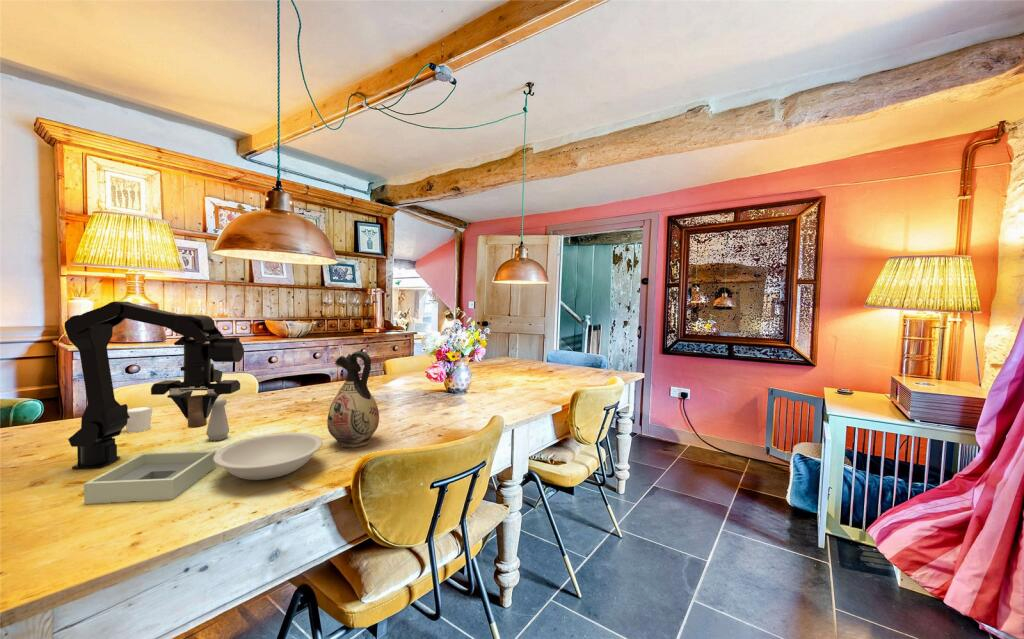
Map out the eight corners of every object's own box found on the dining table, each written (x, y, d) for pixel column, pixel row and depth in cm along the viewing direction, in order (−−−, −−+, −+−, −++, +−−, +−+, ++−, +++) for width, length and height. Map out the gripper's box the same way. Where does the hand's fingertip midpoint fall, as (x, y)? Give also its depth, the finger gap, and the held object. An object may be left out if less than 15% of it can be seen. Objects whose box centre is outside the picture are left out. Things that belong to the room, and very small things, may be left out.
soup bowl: (231, 459, 108) (231, 436, 107) (326, 450, 116) (326, 429, 116) (196, 502, 85) (196, 472, 85) (316, 487, 94) (316, 460, 93)
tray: (84, 504, 83) (84, 483, 83) (142, 470, 99) (142, 453, 99) (172, 499, 86) (172, 479, 86) (215, 467, 102) (215, 451, 102)
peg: (184, 428, 103) (184, 398, 103) (193, 423, 107) (193, 395, 107) (201, 427, 104) (201, 398, 103) (209, 423, 108) (209, 394, 107)
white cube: (118, 431, 125) (118, 410, 125) (143, 425, 132) (143, 405, 132) (132, 434, 123) (132, 413, 123) (157, 428, 130) (157, 407, 130)
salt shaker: (219, 442, 119) (219, 401, 119) (201, 441, 120) (201, 400, 119) (233, 436, 125) (233, 396, 125) (216, 435, 125) (216, 395, 125)
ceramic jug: (314, 447, 118) (316, 350, 117) (351, 432, 133) (352, 346, 131) (360, 456, 113) (362, 355, 111) (392, 439, 127) (394, 349, 126)
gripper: (249, 357, 114) (249, 409, 115) (177, 357, 111) (177, 410, 111) (230, 363, 103) (229, 420, 104) (149, 363, 100) (149, 422, 100)
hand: (197, 418), depth 105 cm, fingers closed on peg, 4 cm apart
